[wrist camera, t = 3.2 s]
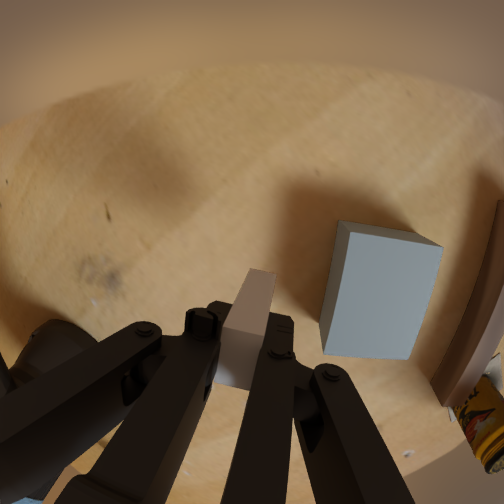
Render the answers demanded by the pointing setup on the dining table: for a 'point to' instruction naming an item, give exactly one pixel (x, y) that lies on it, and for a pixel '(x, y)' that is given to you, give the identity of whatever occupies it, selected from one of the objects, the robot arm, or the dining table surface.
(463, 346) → the board
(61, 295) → the dining table surface
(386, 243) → the block
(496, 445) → the condiment
